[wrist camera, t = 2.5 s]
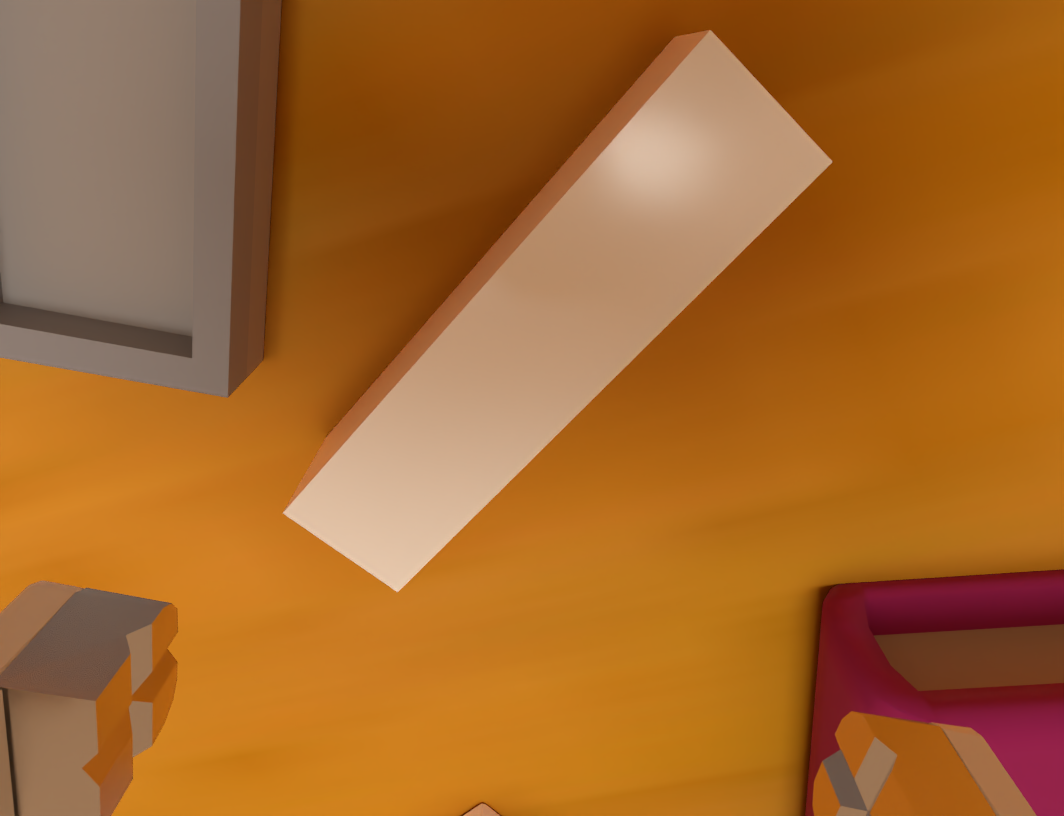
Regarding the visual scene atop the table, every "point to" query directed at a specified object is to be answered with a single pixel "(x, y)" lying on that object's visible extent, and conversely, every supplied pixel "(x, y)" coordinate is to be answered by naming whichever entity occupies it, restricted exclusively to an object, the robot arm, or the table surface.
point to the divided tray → (137, 186)
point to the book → (952, 667)
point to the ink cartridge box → (482, 811)
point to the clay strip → (558, 306)
